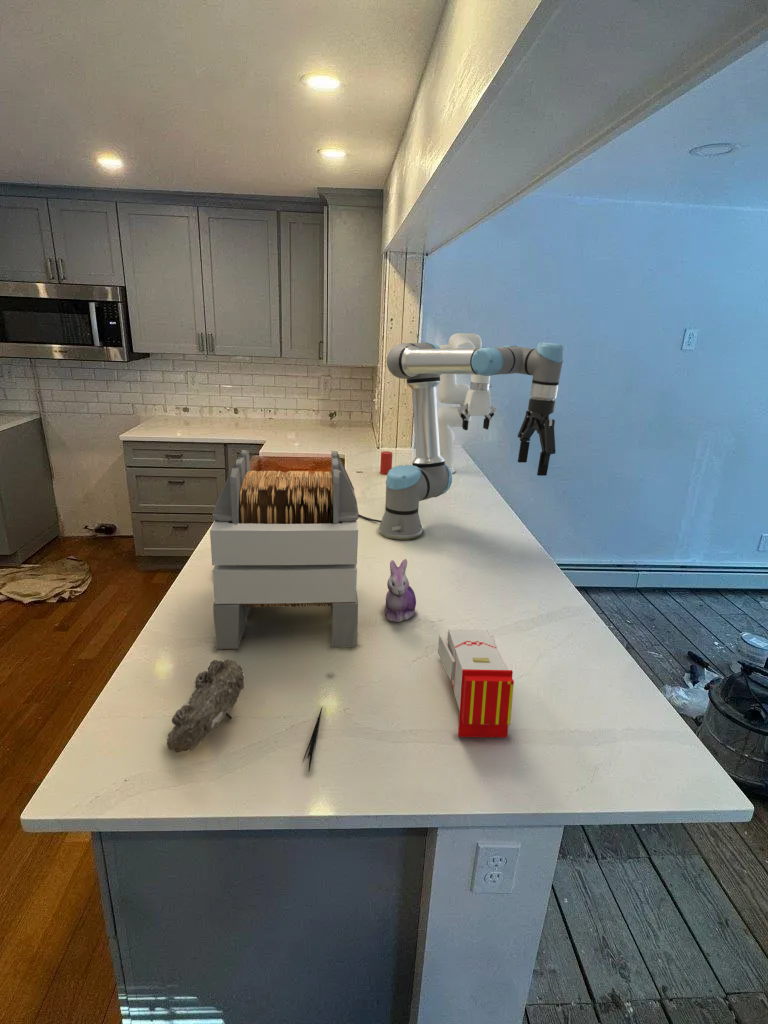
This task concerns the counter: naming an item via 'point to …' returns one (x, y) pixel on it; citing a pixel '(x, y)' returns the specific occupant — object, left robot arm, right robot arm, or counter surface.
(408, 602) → the figurine
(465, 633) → the toy
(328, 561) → the grey record storage rack
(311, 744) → the feather
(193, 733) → the fossil
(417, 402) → the left robot arm
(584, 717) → the counter surface
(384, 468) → the can
